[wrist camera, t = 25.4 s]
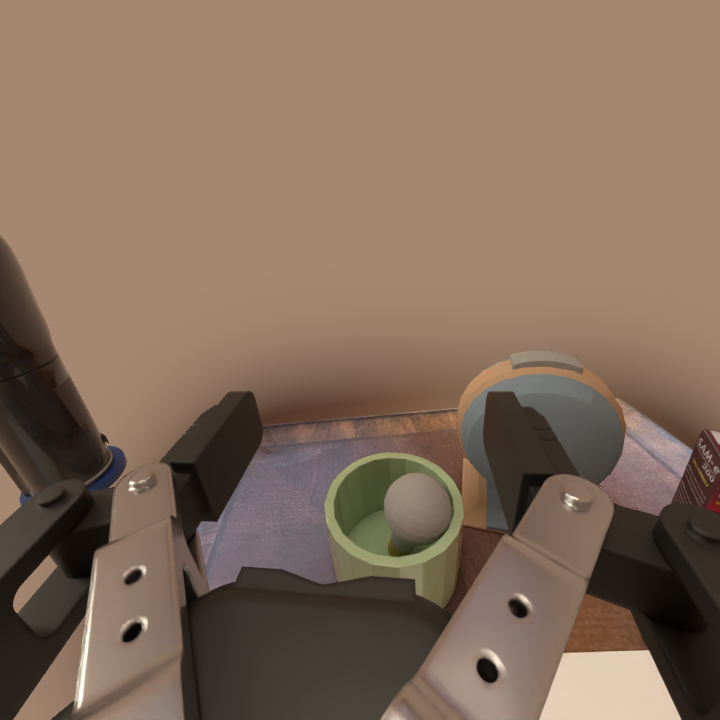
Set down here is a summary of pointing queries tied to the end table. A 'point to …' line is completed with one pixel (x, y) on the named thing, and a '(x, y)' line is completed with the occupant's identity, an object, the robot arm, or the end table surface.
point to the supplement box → (702, 474)
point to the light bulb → (415, 512)
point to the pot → (372, 534)
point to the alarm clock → (560, 408)
